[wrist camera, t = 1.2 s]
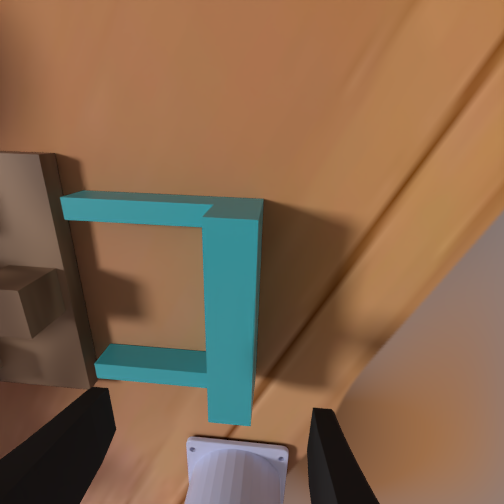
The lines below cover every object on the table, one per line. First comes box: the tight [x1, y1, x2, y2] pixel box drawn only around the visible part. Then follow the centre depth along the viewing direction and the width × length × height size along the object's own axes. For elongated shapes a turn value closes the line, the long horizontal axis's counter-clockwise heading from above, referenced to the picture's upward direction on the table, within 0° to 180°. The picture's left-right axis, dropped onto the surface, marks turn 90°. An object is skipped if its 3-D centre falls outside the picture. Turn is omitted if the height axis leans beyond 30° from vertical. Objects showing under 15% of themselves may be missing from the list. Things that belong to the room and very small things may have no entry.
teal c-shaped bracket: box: [60, 190, 264, 426], centre depth 17 cm, size 10×12×4 cm
